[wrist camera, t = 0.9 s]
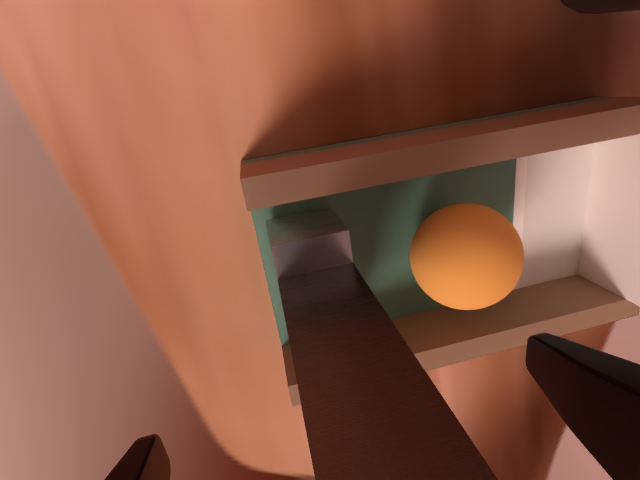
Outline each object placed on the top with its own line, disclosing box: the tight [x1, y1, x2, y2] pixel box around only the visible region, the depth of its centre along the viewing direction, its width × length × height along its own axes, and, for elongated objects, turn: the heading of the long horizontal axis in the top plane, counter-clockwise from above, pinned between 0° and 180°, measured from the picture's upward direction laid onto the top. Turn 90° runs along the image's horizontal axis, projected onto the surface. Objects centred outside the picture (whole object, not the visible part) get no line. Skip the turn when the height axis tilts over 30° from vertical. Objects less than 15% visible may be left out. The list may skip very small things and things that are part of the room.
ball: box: [410, 203, 524, 310], centre depth 14 cm, size 4×4×4 cm
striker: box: [266, 207, 497, 480], centre depth 10 cm, size 5×2×11 cm, turn 8°
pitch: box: [240, 97, 640, 406], centre depth 14 cm, size 9×15×6 cm, turn 97°
